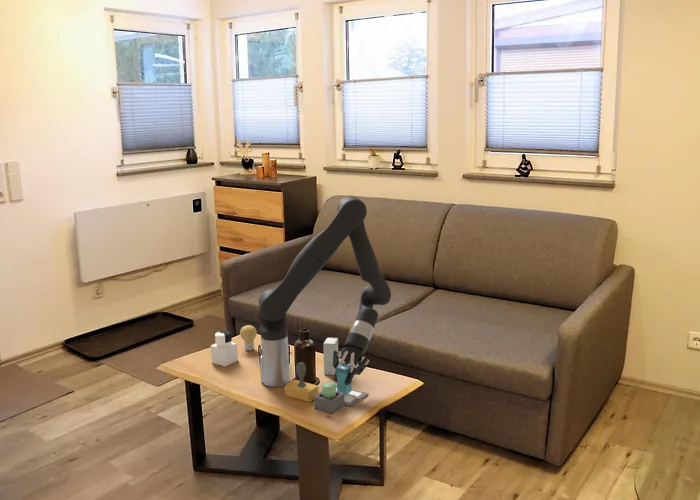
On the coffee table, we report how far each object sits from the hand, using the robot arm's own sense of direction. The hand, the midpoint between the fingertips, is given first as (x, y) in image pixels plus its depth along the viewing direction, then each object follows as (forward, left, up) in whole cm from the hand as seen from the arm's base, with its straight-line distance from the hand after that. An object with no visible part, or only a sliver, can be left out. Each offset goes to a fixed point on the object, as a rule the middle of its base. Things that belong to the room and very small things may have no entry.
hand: (341, 382), depth 217 cm
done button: (0, -7, -2) cm, 7 cm away
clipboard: (0, +2, -6) cm, 6 cm away
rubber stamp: (-13, -5, -6) cm, 15 cm away
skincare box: (-15, +16, -6) cm, 23 cm away
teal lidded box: (0, +2, -4) cm, 5 cm away
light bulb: (-55, +17, -6) cm, 58 cm away
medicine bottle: (-55, +3, -6) cm, 55 cm away
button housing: (0, -7, -6) cm, 9 cm away
